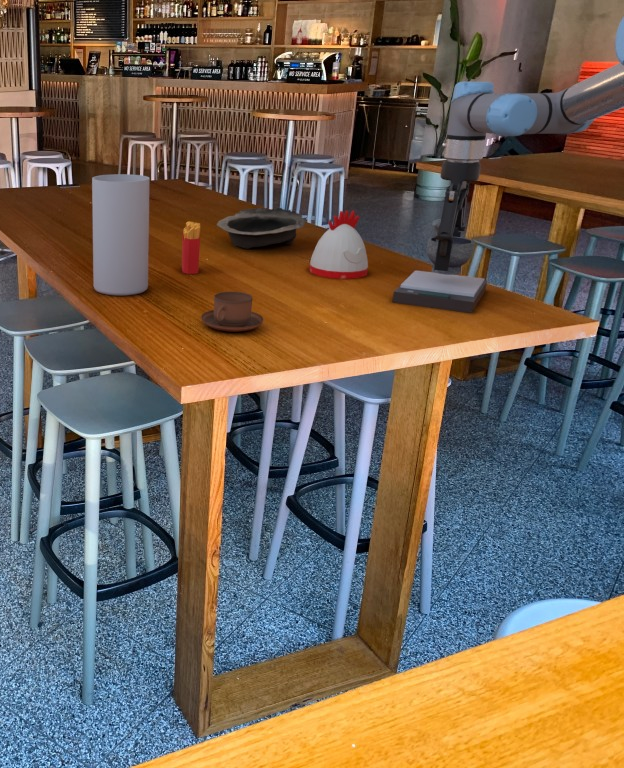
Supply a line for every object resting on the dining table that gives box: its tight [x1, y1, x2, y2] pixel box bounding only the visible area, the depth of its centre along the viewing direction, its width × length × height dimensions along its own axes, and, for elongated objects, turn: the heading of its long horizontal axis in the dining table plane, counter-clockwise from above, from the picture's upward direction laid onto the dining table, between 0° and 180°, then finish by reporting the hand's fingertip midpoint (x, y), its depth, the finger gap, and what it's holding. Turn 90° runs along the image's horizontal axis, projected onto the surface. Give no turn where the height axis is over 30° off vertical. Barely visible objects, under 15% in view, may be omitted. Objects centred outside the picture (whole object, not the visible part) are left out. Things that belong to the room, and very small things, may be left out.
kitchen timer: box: [309, 210, 369, 280], centre depth 194 cm, size 14×14×15 cm
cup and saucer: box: [200, 291, 264, 333], centre depth 154 cm, size 12×12×6 cm
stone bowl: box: [216, 207, 308, 250], centre depth 224 cm, size 25×25×9 cm
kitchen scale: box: [392, 270, 488, 314], centre depth 175 cm, size 20×16×3 cm
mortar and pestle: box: [426, 218, 476, 275], centre depth 171 cm, size 11×9×12 cm
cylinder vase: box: [91, 173, 151, 297], centre depth 177 cm, size 12×12×25 cm
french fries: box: [181, 220, 201, 275], centre depth 195 cm, size 8×4×12 cm, turn 2°
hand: (445, 265), depth 174 cm, fingers closed on mortar and pestle, 10 cm apart
